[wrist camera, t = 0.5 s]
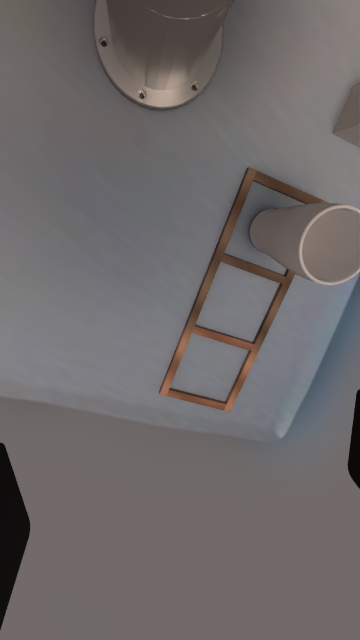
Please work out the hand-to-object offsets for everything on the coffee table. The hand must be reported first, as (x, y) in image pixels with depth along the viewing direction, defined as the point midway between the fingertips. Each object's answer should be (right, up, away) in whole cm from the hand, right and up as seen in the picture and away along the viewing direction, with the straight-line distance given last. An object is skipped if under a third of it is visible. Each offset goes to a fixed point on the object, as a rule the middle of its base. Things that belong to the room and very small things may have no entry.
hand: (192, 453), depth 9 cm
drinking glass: (+11, +15, +33) cm, 38 cm away
